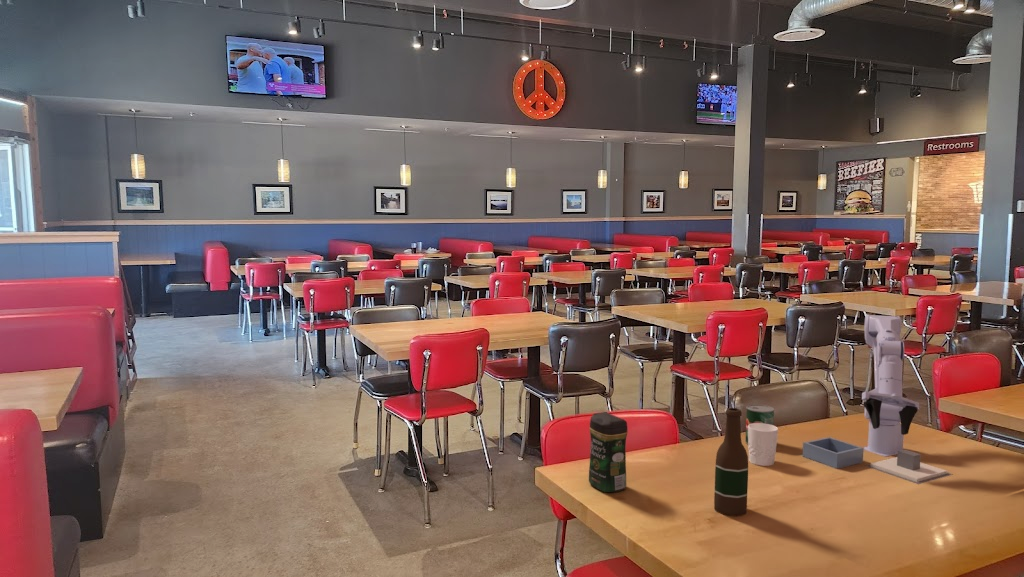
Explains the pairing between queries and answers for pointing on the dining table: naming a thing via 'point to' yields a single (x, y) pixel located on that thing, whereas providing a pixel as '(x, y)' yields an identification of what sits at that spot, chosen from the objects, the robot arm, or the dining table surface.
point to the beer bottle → (731, 469)
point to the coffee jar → (608, 452)
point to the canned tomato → (758, 416)
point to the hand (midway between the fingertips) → (890, 430)
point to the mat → (911, 480)
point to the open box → (833, 452)
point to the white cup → (762, 443)
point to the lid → (908, 466)
